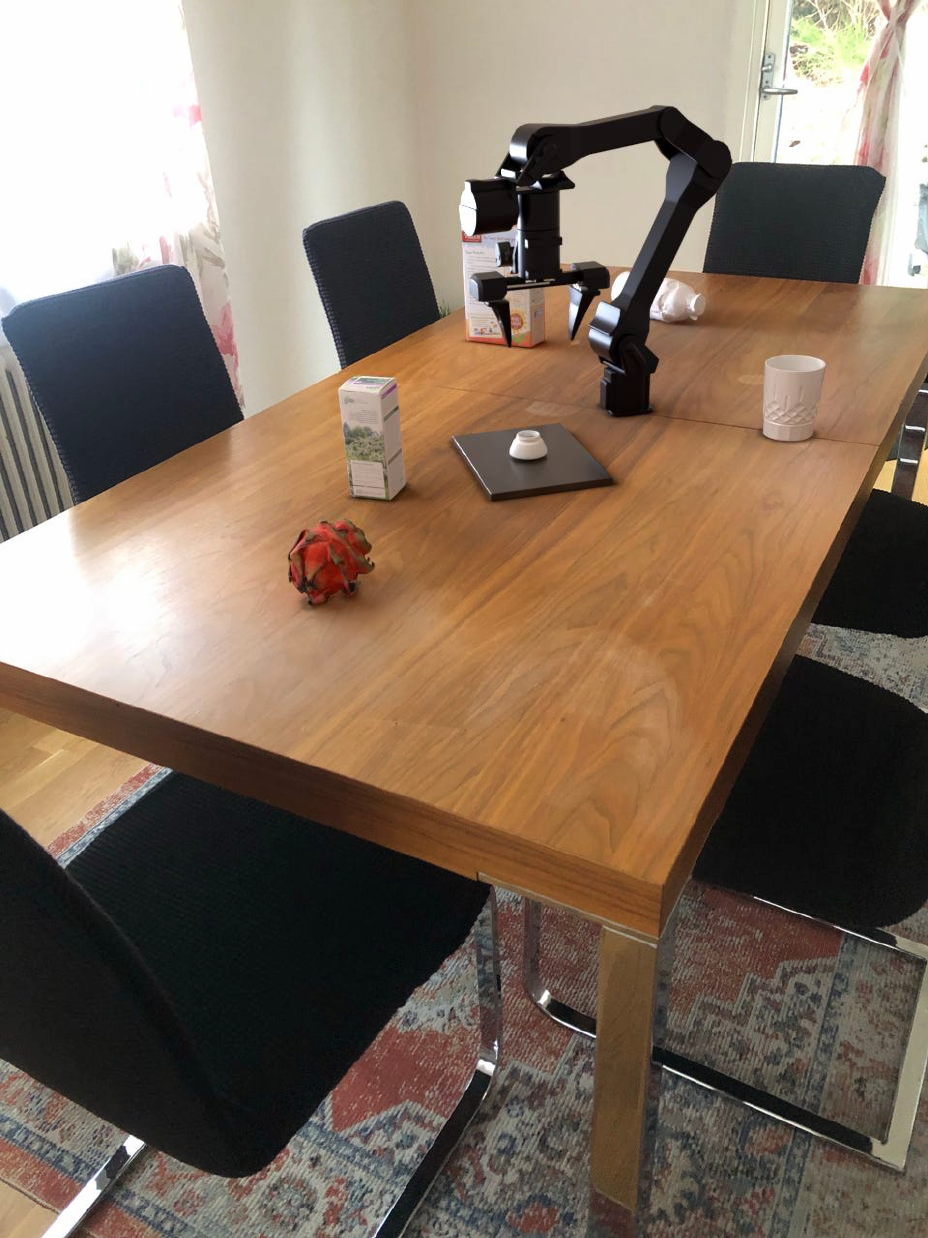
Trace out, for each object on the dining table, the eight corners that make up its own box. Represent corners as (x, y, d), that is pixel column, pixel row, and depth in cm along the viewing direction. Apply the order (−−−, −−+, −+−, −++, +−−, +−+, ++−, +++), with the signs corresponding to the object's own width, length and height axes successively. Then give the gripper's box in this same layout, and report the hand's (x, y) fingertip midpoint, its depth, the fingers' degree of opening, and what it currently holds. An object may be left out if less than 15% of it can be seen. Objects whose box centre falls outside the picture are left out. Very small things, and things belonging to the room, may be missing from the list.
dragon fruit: (367, 578, 116) (320, 644, 108) (304, 534, 116) (252, 597, 107) (400, 531, 111) (353, 598, 102) (334, 485, 110) (281, 548, 101)
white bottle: (685, 332, 193) (688, 288, 189) (609, 316, 205) (610, 274, 201) (711, 323, 197) (715, 280, 193) (635, 308, 210) (637, 267, 206)
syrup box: (407, 484, 135) (398, 375, 128) (390, 502, 131) (379, 390, 123) (367, 480, 137) (356, 373, 130) (348, 498, 132) (336, 387, 125)
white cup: (820, 427, 146) (830, 357, 141) (811, 446, 140) (821, 373, 135) (764, 421, 149) (771, 352, 144) (752, 440, 143) (759, 368, 138)
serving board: (560, 429, 151) (560, 422, 150) (612, 484, 132) (612, 477, 132) (453, 442, 148) (452, 436, 148) (491, 501, 129) (491, 494, 129)
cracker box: (546, 340, 192) (545, 221, 182) (530, 349, 188) (528, 227, 177) (482, 333, 199) (477, 217, 188) (465, 341, 195) (460, 223, 184)
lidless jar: (546, 461, 137) (547, 448, 142) (546, 440, 136) (547, 427, 140) (508, 462, 138) (511, 448, 142) (508, 441, 136) (510, 428, 141)
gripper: (584, 212, 148) (584, 322, 155) (457, 224, 144) (463, 336, 152) (612, 224, 138) (610, 341, 146) (476, 237, 135) (481, 356, 143)
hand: (540, 343), depth 147 cm, fingers open, 9 cm apart
